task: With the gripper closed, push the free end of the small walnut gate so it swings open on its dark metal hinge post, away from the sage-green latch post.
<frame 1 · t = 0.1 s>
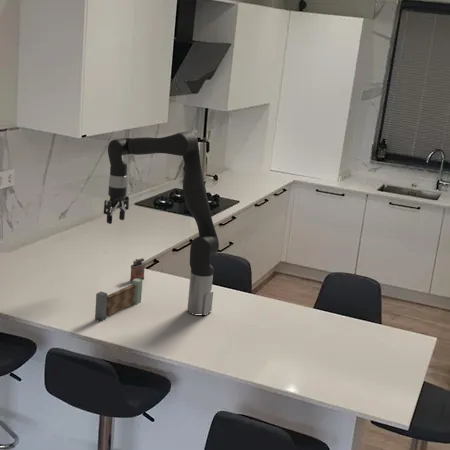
hand: (115, 221, 301), 29 cm above the counter, tool pointing down, fingers open, 8 cm apart
gate: (120, 299, 281), point 5 cm above the counter, hinge at 0.0°
hinge post: (100, 319, 272), on the counter
lighter: (137, 280, 317), on the counter
latch post: (135, 302, 292), on the counter
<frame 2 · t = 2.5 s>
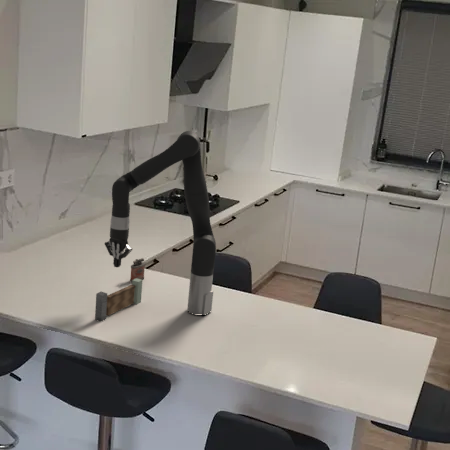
hand: (117, 266, 285), 16 cm above the counter, tool pointing down, fingers closed
nothing on the counter moved.
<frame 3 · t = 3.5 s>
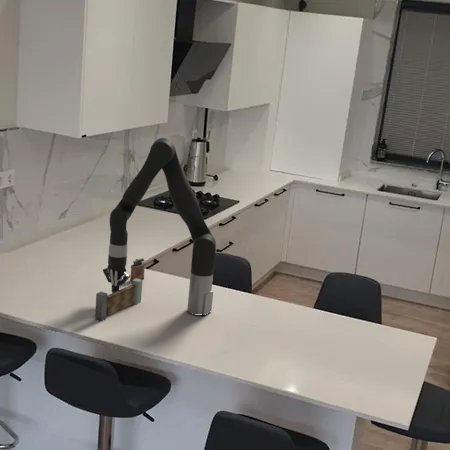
hand: (115, 293, 288), 4 cm above the counter, tool pointing down, fingers closed
nothing on the counter moved.
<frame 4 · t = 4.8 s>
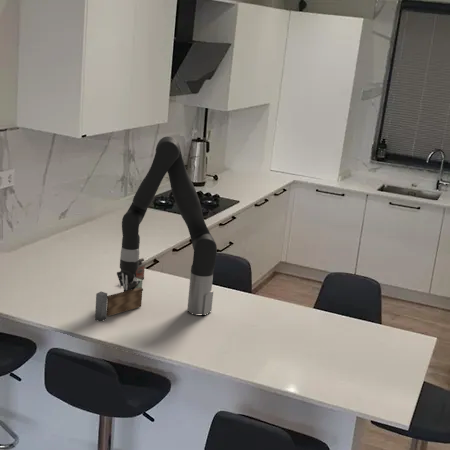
hand: (126, 297, 286), 4 cm above the counter, tool pointing down, fingers closed
gate: (124, 301, 280), point 5 cm above the counter, hinge at 14.2°, touching gripper
everything else where it was.
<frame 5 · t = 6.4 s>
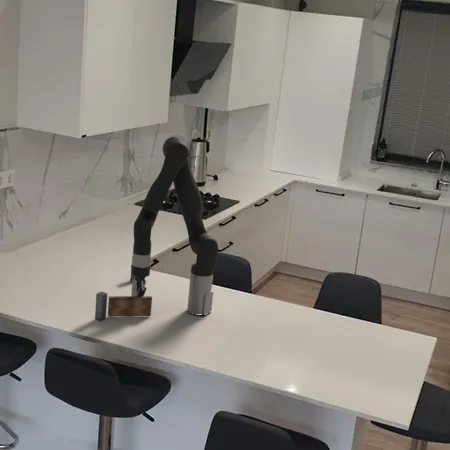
hand: (138, 303, 281), 4 cm above the counter, tool pointing down, fingers closed
gate: (129, 306, 276), point 4 cm above the counter, hinge at 46.6°, touching gripper
everything else where it was.
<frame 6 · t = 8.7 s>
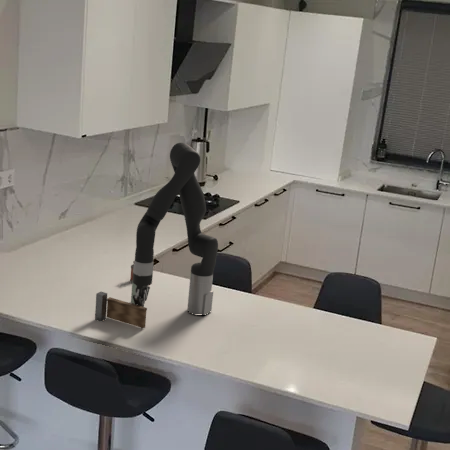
hand: (139, 313, 272), 4 cm above the counter, tool pointing down, fingers closed
gate: (126, 312, 270), point 4 cm above the counter, hinge at 86.0°
everything else where it was.
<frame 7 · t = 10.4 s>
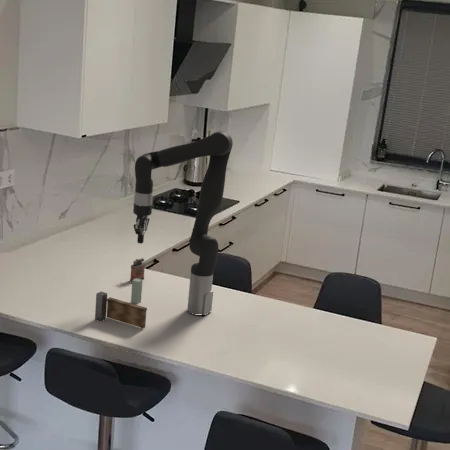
hand: (140, 242, 289), 25 cm above the counter, tool pointing down, fingers closed
nothing on the counter moved.
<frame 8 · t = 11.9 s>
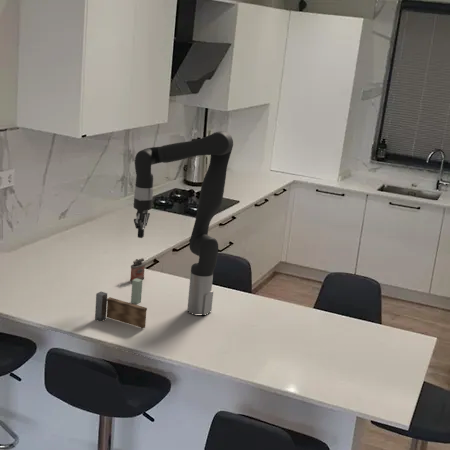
hand: (140, 237, 290), 27 cm above the counter, tool pointing down, fingers closed
nothing on the counter moved.
at the end: gate at +86° (first picture: +0°); lighter moved 0.2 cm from its start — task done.
